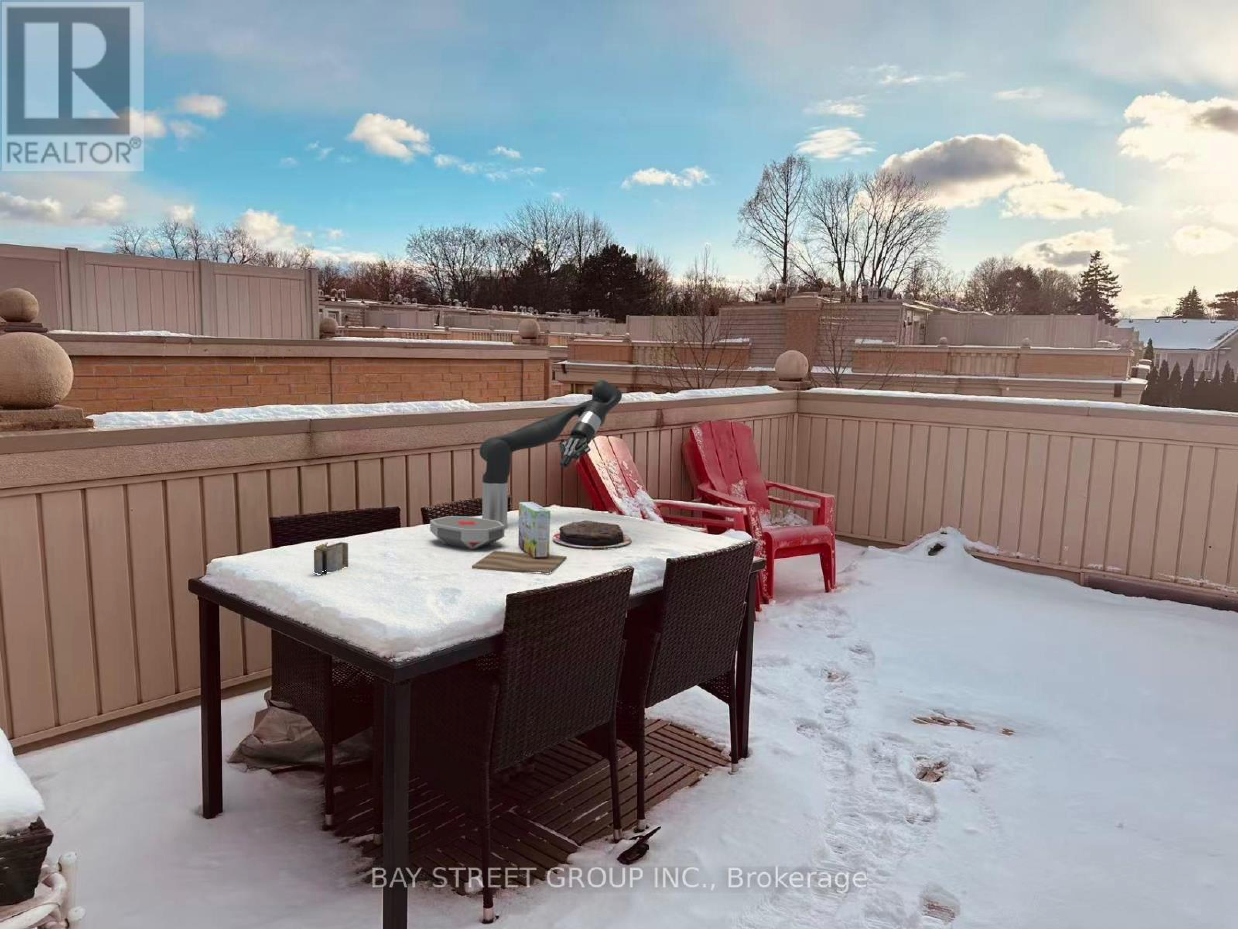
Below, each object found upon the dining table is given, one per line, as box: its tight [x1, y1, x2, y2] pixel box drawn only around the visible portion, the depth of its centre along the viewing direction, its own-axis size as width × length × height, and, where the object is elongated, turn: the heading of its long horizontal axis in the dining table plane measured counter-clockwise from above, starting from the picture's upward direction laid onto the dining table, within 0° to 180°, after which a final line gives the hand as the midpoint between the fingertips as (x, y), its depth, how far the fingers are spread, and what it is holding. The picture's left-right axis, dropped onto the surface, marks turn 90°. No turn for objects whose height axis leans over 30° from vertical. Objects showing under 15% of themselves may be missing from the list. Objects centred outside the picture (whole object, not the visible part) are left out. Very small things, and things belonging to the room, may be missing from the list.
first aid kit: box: [429, 515, 506, 550], centre depth 268 cm, size 18×8×25 cm
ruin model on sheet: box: [313, 541, 349, 575], centre depth 229 cm, size 11×3×10 cm, turn 160°
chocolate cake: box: [551, 520, 632, 550], centre depth 279 cm, size 28×28×7 cm
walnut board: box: [471, 550, 567, 573], centre depth 245 cm, size 20×24×1 cm
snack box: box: [518, 501, 551, 558], centre depth 257 cm, size 21×6×15 cm, turn 21°
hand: (562, 466), depth 265 cm, fingers closed
